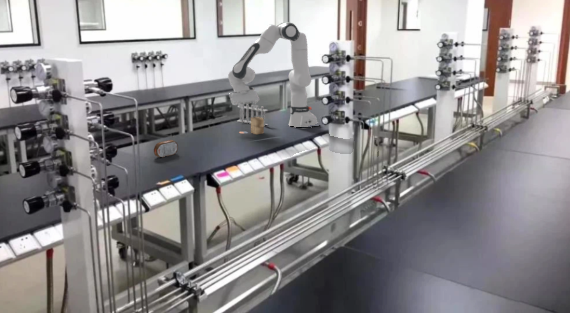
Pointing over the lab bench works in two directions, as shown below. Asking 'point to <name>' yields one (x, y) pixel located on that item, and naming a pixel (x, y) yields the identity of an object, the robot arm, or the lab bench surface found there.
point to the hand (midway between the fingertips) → (249, 108)
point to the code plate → (243, 132)
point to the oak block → (257, 125)
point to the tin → (165, 148)
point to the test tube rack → (251, 113)
